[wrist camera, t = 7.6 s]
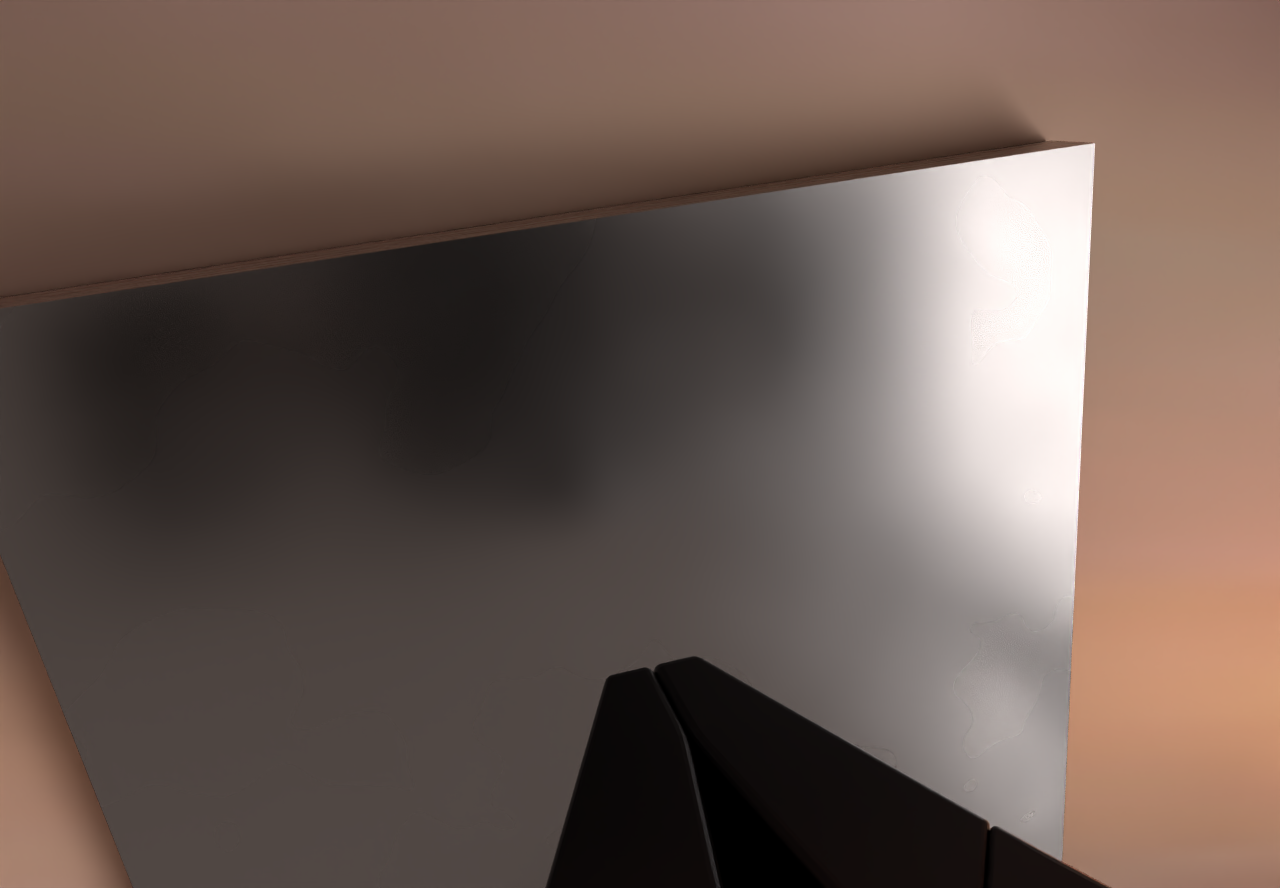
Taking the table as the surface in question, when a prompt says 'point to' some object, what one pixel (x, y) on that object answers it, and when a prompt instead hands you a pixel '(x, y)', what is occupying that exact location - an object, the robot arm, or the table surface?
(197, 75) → the table surface
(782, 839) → the robot arm
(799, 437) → the metal cylinder assembly
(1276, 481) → the table surface
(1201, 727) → the table surface
